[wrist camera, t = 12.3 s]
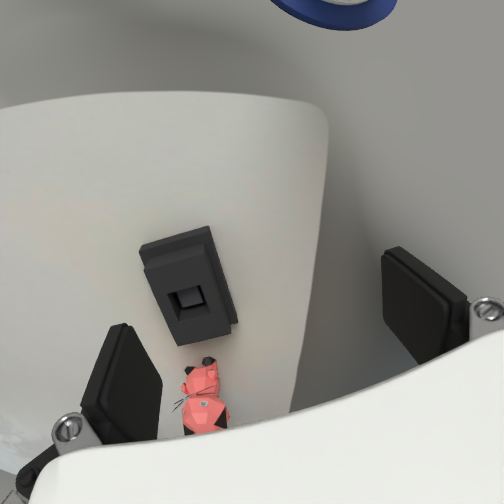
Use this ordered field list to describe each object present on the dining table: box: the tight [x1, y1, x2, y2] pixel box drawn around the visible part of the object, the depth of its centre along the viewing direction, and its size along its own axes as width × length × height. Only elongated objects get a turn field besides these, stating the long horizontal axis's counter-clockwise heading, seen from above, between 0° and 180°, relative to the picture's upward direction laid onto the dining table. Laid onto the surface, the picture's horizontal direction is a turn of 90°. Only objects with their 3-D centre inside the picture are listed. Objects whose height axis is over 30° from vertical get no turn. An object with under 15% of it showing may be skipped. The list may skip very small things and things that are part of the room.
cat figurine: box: [174, 357, 230, 436], centre depth 36 cm, size 7×7×12 cm
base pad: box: [139, 226, 238, 325], centre depth 35 cm, size 12×8×4 cm, turn 14°
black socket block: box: [144, 243, 231, 346], centre depth 33 cm, size 10×6×3 cm, turn 14°
